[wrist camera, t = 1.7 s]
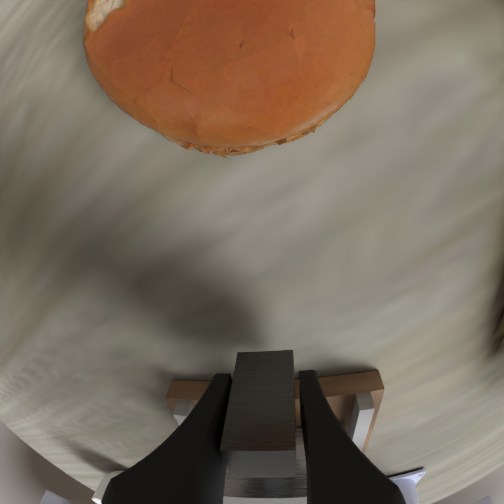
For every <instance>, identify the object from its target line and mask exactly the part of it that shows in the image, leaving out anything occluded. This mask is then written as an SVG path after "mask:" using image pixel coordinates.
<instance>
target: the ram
mask: <svg viewBox="0 0 504 504" xmlns="http://www.w3.org/2000/svg"><path fill="white" fill-rule="evenodd" d="M341 425H342V427H343V428H344V430H345V431H346V428H345V424H341ZM220 451H221V454H222V456H223V458H224V460H225V462H226V464H227V468H226V476H225V486H224V497H223V504H307V470H306V459H305V451H304V444H303V436H302V429H301V428H296V410H295V378H294V359H293V350H283V351H264V352H238V353H237V359H236V364H235V370H234V375H233V381H232V386H231V392H230V397H229V403H228V408H227V414H226V419H225V424H224V430H223V435H222V441H221V446H220Z"/></svg>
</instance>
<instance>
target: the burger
mask: <svg viewBox="0 0 504 504" xmlns="http://www.w3.org/2000/svg"><path fill="white" fill-rule="evenodd" d="M374 17H375V0H89V2H88V8H87V13H86V17H85V23H84V35H83V44H84V49H85V53H86V57H87V61H88V65H89V68H90V71H91V73H92V74H93V76H94V77H95V79H96V80H97V82H98V83H99V85H100V86H101V87H102V89H103V90H104V91H105V92H106V94H107V95H108V96H109V98H110V99H111V100H112V101H113V102H114V103H115V104H116V105H117V106H118V107H119V108H120V109H122V110H123V111H124V112H126V113H127V114H129V115H130V116H132V117H133V118H134V119H136V120H137V121H139V122H140V123H141V124H143V125H145V126H147V127H149V128H151V129H153V130H155V131H157V132H159V133H161V134H162V135H163V136H164V137H165V138H167V139H168V140H170V141H172V142H175V143H177V144H179V145H180V146H182V147H183V148H185V149H188V150H192V149H193V148H195V149H197V150H199V151H200V152H204V153H207V154H210V153H211V152H213V153H214V154H215V155H219V156H222V157H225V158H226V154H229V155H238V154H246V153H251V152H254V151H257V150H261V149H263V148H264V147H265V146H270V145H275V144H279V145H280V144H283V143H288V142H291V141H294V140H296V139H299V138H301V137H303V136H305V135H307V134H308V133H310V132H313V133H314V132H315V129H316V128H317V127H319V126H321V125H322V124H323V123H324V122H325V121H326V120H327V119H328V118H329V117H330V116H331V115H332V114H334V113H335V112H337V111H338V110H339V109H340V108H341V107H342V106H343V105H344V104H345V103H346V102H347V101H348V100H349V99H350V98H351V97H352V96H353V94H354V93H355V92H356V90H357V89H358V87H359V86H360V85H361V83H362V82H363V80H364V79H365V78H366V76H367V73H368V70H369V67H370V64H371V61H372V58H373V53H374V48H375V22H374Z"/></svg>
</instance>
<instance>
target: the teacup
mask: <svg viewBox="0 0 504 504" xmlns="http://www.w3.org/2000/svg"><path fill="white" fill-rule="evenodd" d="M122 472H124V471H113V472H111V473H109V474H107V475H106V476H105V477H104V478H103V479H102V481H101V482H100V484H99V486H98V488H97V490H96V492H95V494H94V496H93V498H92V500H93V501H94V502H96V503H97V504H102V503H101V500H102V497H103V495H104V492H105V489H106V487H107V485H108V483H109V481H110V479H111V478H113V477H115V476H116V475H118V474H120V473H122Z"/></svg>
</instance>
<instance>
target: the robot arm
mask: <svg viewBox="0 0 504 504" xmlns="http://www.w3.org/2000/svg"><path fill="white" fill-rule="evenodd" d="M231 386H232V378H231V374H215V375H214V377H213V379H212V381H211V382H210V384H209V386H208V387H207V389H206V390H205V392H204V393H203V395H202V397H201V398H200V399H199V401H198V402H197V404H196V405H195V407H194V408H193V409H192V411H191V412H190V413H189V415H188V416H187V417H186V418H185V419H184V421H183V422H182V423H181V424H180V426H179V427H178V428H177V429H176V430H175V431H174V432H173V433H172V434H171V435H170V436H169V437H168V438H167V439H166V440H165V441H164V442H163V443H162V444H161V445H160V446H159V447H157V448H156V449H155V450H154V451H153V452H152V453H150V454H149V455H148V456H146V457H145V458H144V459H142V460H141V461H139V462H138V463H136V464H135V465H134V466H132V467H130V468H129V469H127V470H125V471H124V472H122V473H120V474H118V475H116V476H115V477H113V478H111V479H110V481H109V483H108V485H107V487H106V489H105V492H104V495H103V497H102V500H101V503H102V504H223V497H224V486H225V476H226V468H227V464H226V462H225V460H224V458H223V456H222V454H221V451H220V446H221V441H222V435H223V430H224V424H225V419H226V414H227V408H228V403H229V397H230V392H231ZM299 389H300V421H301V429H302V436H303V444H304V451H305V459H306V470H307V504H420V503H419V498H418V494H417V489H416V485H415V484H416V483H417V482H418V481H419V480H420V478H421V477H422V476H423V475H424V474H425V472H426V469H421V470H417V471H414V472H410V473H406V474H402V475H398V476H394V477H390V478H388V477H387V476H385V475H384V474H383V473H382V472H381V471H380V470H379V469H378V468H377V467H376V466H375V465H373V463H372V462H371V461H370V460H369V459H368V458H367V457H366V456H365V455H364V454H363V453H362V452H361V451H360V449H359V448H358V447H357V446H356V444H355V443H354V442H353V441H352V439H351V438H350V437H349V435H348V434H347V433H346V431H345V430H344V428H343V427H342V425H341V424H340V422H339V421H338V419H337V417H336V416H335V414H334V412H333V410H332V409H331V407H330V405H329V403H328V401H327V399H326V397H325V395H324V393H323V390H322V388H321V386H320V383H319V380H318V377H317V373H316V371H315V370H305V371H299ZM40 504H72V503H70V502H69V501H67V500H65V499H63V498H61V497H60V496H58V495H55V494H54V493H52V492H50V491H46V492H45V495H44V496H43V499H42V501H41V503H40ZM474 504H493V503H492V499H491V497H490V496H488V497H486V498H484V499H482V500H480V501H478V502H476V503H474Z"/></svg>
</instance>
